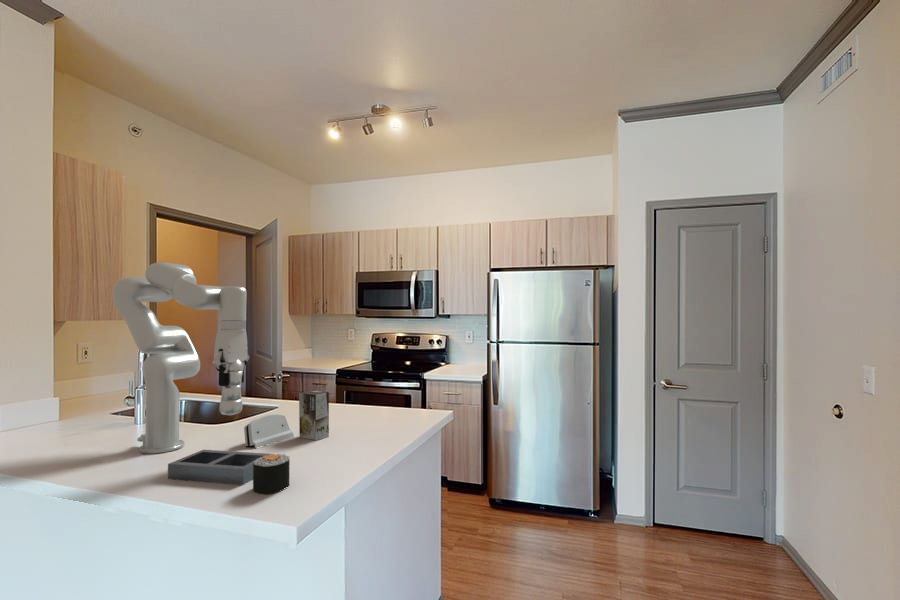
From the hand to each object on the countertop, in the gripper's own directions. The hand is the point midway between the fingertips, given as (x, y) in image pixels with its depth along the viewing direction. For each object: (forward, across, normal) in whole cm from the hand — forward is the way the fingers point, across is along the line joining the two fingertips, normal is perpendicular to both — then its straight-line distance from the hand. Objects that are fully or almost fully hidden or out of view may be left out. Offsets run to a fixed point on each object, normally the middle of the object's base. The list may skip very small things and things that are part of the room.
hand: (231, 383), depth 139 cm
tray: (+23, +12, +7) cm, 27 cm away
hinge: (+23, -19, +1) cm, 30 cm away
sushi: (+23, +19, +27) cm, 40 cm away
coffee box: (+23, -27, +14) cm, 38 cm away
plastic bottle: (+10, 0, 0) cm, 10 cm away
